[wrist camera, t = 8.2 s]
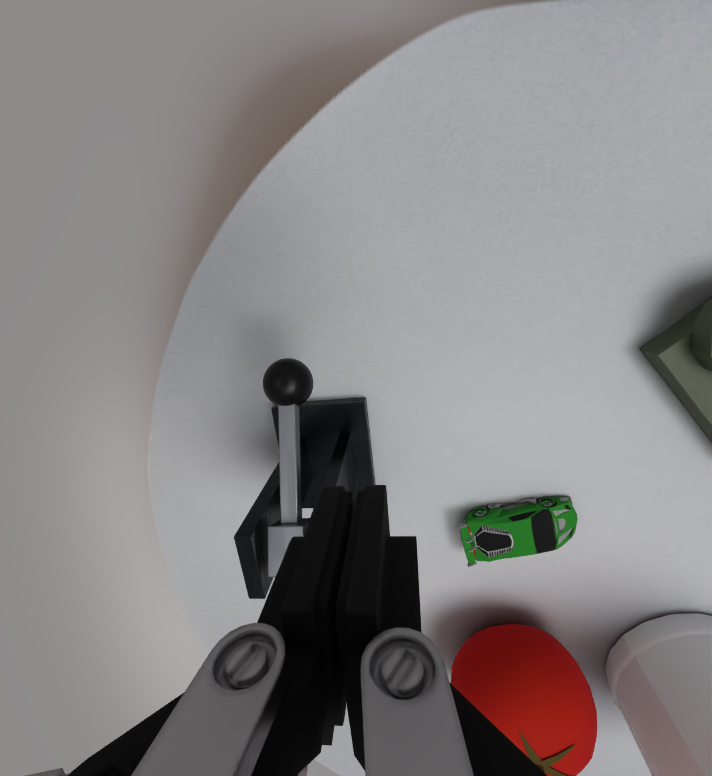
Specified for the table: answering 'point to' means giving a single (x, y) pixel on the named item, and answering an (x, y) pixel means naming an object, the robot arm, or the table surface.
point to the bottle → (667, 691)
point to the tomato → (530, 694)
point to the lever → (287, 452)
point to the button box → (687, 362)
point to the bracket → (309, 476)
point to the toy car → (517, 528)
